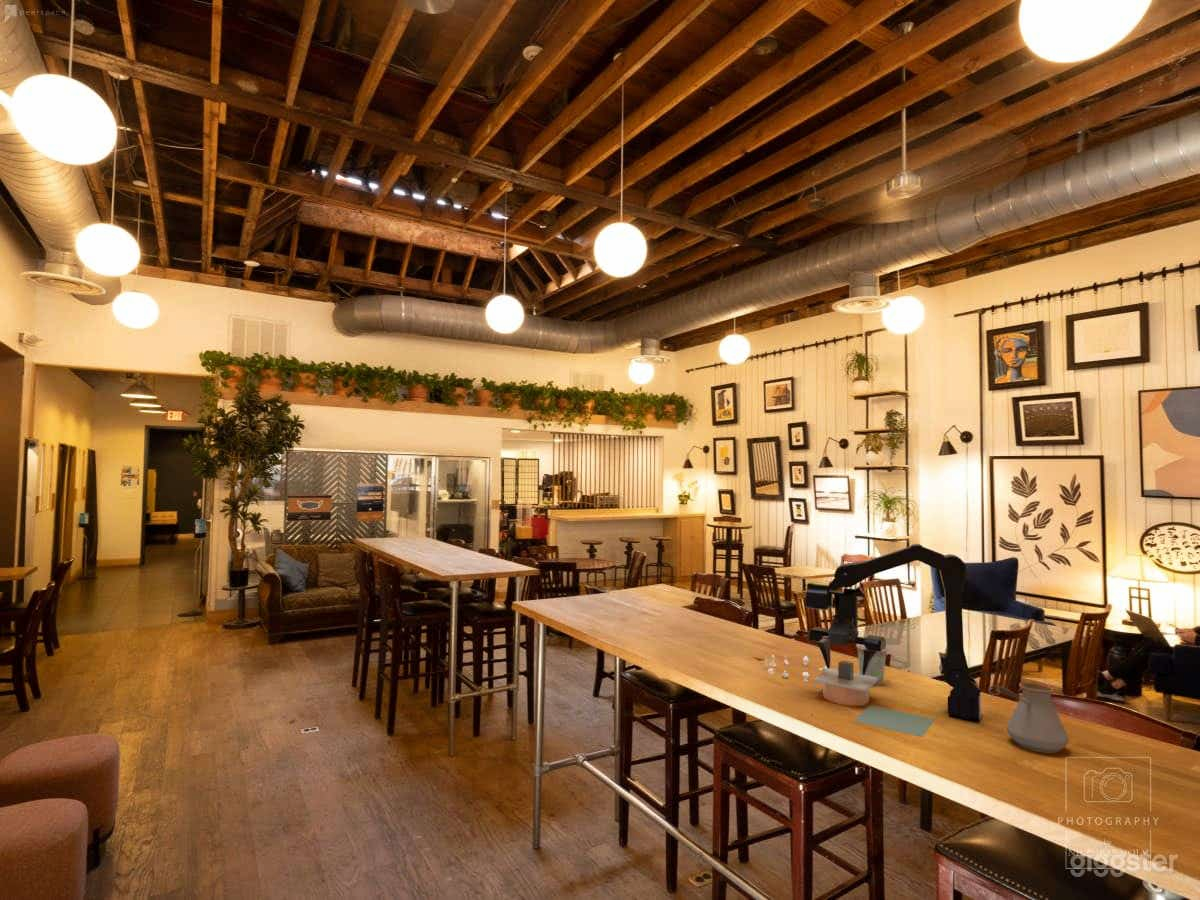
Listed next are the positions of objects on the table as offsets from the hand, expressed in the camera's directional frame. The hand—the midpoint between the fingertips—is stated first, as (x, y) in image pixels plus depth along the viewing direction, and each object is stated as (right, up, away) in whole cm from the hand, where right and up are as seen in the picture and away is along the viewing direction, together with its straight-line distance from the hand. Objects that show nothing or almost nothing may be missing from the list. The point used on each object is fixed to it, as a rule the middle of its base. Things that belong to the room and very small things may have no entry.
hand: (846, 671), depth 171 cm
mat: (+6, -7, -16) cm, 18 cm away
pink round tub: (0, -8, 0) cm, 8 cm away
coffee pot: (+27, -7, -31) cm, 42 cm away
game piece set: (-5, -10, +26) cm, 28 cm away
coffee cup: (+14, -9, +17) cm, 23 cm away
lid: (0, -2, 0) cm, 2 cm away
